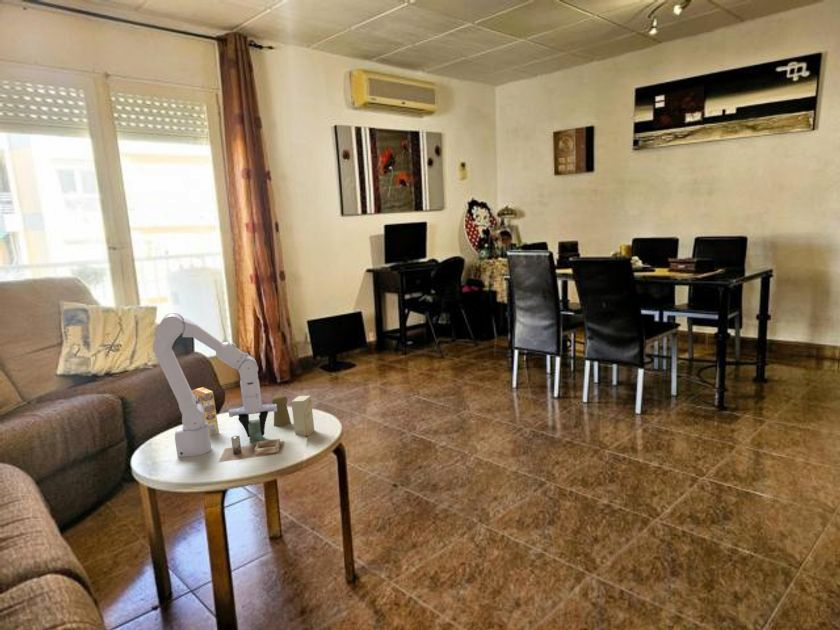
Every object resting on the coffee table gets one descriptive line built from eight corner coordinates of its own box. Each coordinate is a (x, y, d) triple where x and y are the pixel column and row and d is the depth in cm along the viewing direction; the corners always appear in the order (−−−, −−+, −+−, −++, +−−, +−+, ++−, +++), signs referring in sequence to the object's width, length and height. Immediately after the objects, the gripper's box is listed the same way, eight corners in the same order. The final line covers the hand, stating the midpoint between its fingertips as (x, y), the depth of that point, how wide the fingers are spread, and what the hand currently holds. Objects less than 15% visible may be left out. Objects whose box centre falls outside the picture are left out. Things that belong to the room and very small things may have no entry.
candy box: (219, 434, 183) (214, 390, 181) (207, 438, 181) (201, 394, 178) (209, 428, 190) (203, 386, 187) (197, 432, 187) (191, 389, 185)
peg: (250, 445, 172) (247, 424, 171) (252, 441, 175) (249, 420, 174) (262, 443, 172) (259, 422, 171) (263, 439, 176) (261, 419, 175)
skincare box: (307, 437, 175) (303, 401, 173) (294, 437, 176) (290, 401, 174) (314, 430, 181) (311, 395, 179) (302, 430, 182) (298, 395, 180)
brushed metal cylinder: (232, 455, 162) (230, 439, 162) (233, 451, 165) (231, 436, 164) (240, 453, 163) (238, 438, 162) (242, 450, 165) (240, 435, 164)
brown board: (219, 464, 158) (217, 456, 158) (225, 451, 168) (224, 443, 168) (282, 456, 161) (281, 448, 161) (284, 443, 171) (283, 436, 170)
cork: (286, 421, 191) (282, 391, 190) (294, 425, 187) (291, 395, 185) (270, 426, 187) (266, 396, 186) (278, 430, 183) (275, 399, 181)
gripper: (275, 388, 176) (280, 428, 178) (229, 393, 174) (234, 433, 176) (273, 394, 169) (278, 435, 172) (225, 400, 167) (231, 441, 169)
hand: (256, 435), depth 173 cm, fingers closed on peg, 4 cm apart
